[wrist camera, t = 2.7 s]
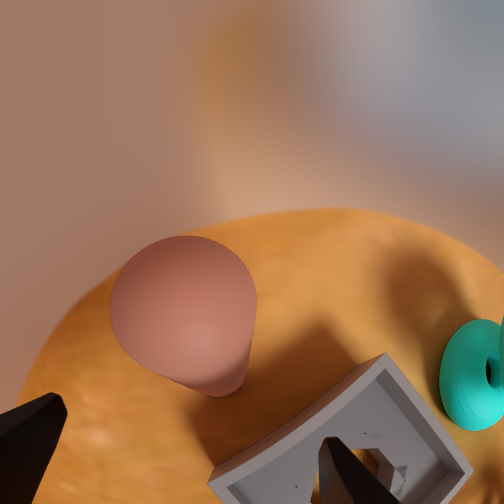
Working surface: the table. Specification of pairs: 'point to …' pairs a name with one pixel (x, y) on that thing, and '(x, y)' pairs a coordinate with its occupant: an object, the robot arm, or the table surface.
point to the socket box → (352, 444)
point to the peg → (187, 313)
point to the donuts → (474, 375)
